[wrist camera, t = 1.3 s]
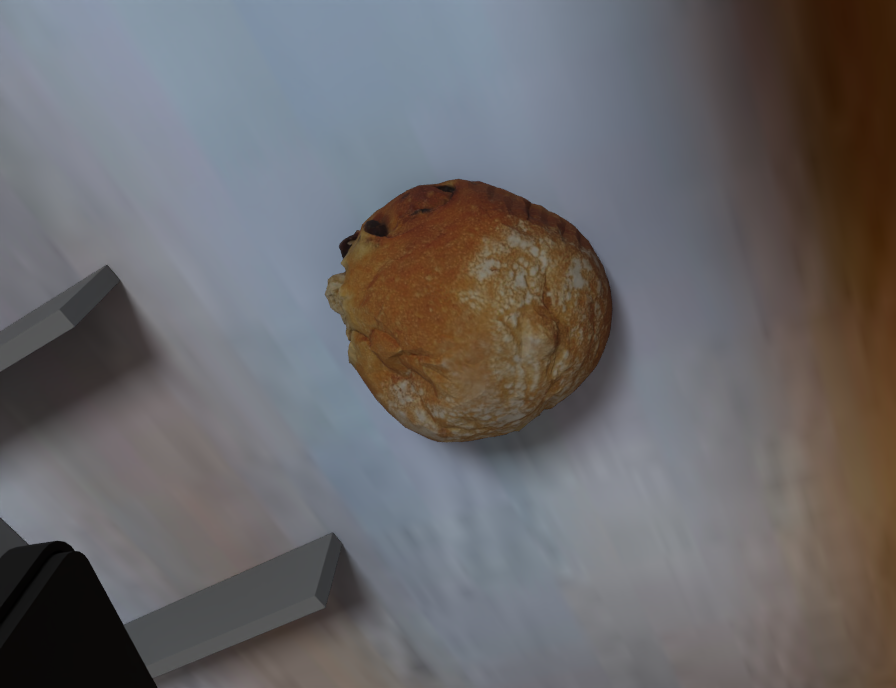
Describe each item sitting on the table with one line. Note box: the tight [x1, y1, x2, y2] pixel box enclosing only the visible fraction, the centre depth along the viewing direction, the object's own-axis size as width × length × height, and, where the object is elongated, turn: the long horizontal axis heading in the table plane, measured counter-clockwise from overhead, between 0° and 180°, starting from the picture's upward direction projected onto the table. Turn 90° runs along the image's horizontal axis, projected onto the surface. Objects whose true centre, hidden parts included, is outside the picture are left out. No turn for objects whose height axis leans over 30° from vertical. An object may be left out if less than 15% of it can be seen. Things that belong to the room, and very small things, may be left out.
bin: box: [0, 265, 342, 678], centre depth 37 cm, size 15×17×4 cm
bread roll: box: [325, 179, 612, 442], centre depth 31 cm, size 10×10×8 cm
